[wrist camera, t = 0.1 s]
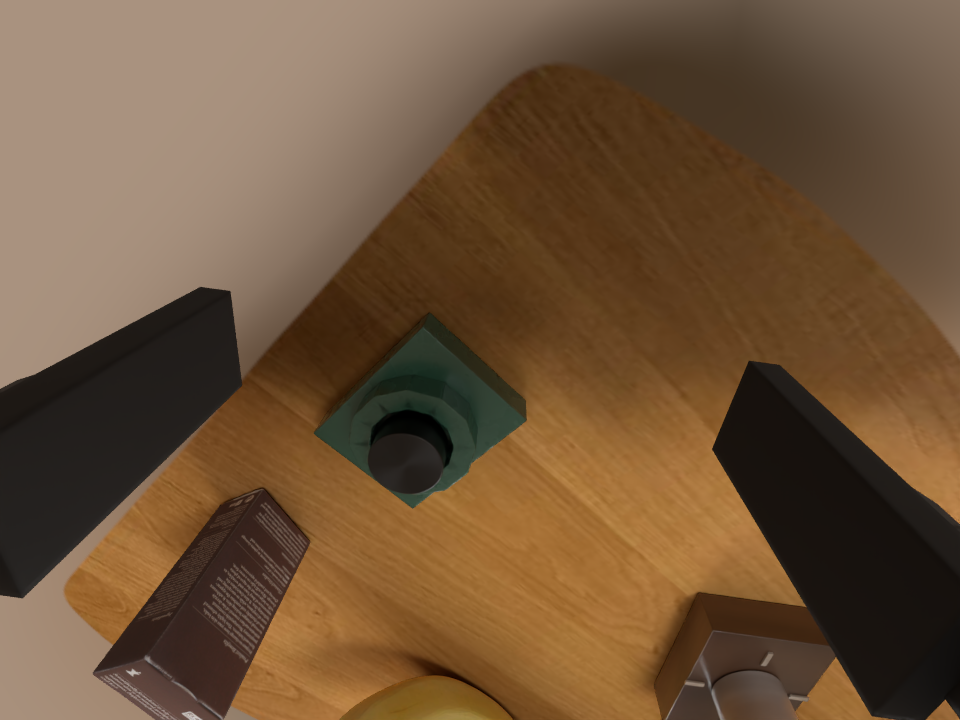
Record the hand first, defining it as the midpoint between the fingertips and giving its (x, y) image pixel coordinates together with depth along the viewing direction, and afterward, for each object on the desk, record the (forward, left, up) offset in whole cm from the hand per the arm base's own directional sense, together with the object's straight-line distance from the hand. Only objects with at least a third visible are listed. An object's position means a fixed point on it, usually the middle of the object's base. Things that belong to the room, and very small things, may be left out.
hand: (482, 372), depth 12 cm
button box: (+11, -3, -14) cm, 18 cm away
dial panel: (+30, +23, -14) cm, 40 cm away
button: (+11, -3, -11) cm, 15 cm away
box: (+23, -14, -14) cm, 30 cm away
